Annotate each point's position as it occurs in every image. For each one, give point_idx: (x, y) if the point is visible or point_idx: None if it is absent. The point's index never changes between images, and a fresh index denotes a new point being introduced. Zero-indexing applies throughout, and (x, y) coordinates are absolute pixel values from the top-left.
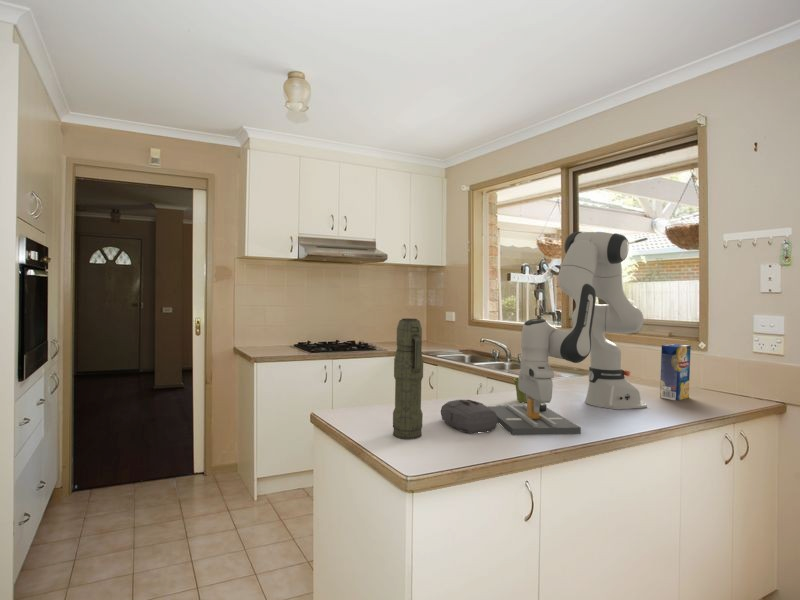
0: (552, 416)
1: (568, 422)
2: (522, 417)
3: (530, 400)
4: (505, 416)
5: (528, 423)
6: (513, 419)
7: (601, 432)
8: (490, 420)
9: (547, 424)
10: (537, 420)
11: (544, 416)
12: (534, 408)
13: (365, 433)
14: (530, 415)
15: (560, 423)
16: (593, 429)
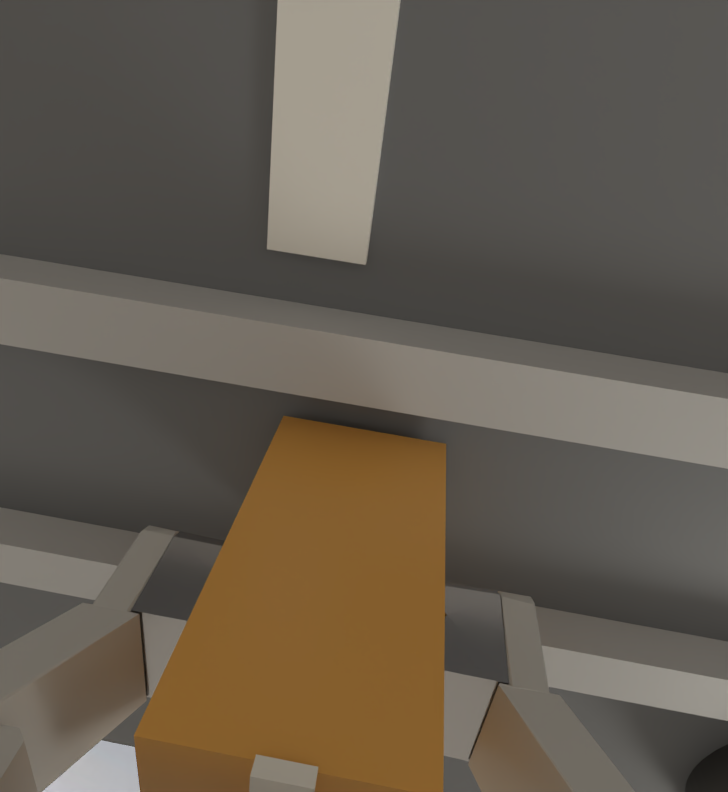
0: None
1: (128, 720)
2: (377, 323)
3: (162, 734)
4: (657, 2)
5: (45, 248)
6: (294, 52)
7: (56, 780)
8: None
9: (15, 490)
10: (230, 481)
11: None
12: (113, 583)
13: None
14: (269, 449)
15: None
16: (137, 785)
